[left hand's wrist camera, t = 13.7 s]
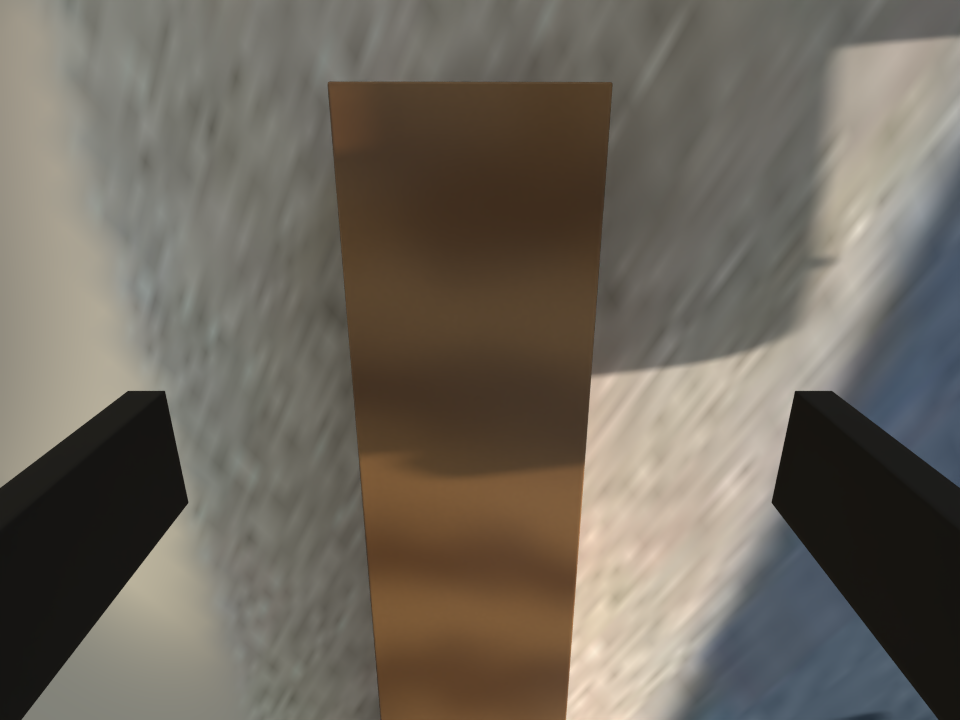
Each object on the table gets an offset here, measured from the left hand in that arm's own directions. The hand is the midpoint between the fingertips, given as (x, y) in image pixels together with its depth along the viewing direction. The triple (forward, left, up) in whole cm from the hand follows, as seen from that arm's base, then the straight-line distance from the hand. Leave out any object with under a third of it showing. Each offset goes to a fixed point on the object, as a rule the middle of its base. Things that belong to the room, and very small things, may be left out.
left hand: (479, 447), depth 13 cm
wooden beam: (+23, +16, -17) cm, 32 cm away
